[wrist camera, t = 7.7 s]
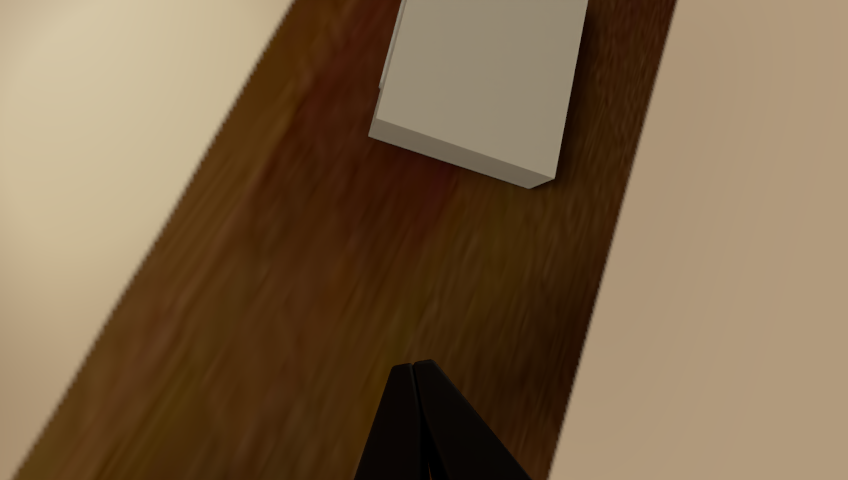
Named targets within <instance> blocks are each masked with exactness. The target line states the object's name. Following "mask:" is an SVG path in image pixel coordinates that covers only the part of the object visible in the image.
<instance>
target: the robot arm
mask: <svg viewBox="0 0 848 480" xmlns="http://www.w3.org/2000/svg"><path fill="white" fill-rule="evenodd" d="M413 368H414V369H413ZM427 458H428V459H427ZM428 464H429V467H428ZM429 469H430V474H431V478H432V480H532V479H531V478H530V476H529V475H528V474H527V473H526V472H525V470H524V469H523V468H522V467H521V466H520V464H519V463H518V462H517V461H516V460H515V458H514V457H513V456H512V455H511V453H510V452H509V451H508V450H507V449H506V447H505V446H504V445H503V444H502V443H501V441H500V440H499V439H498V438H497V436H496V435H495V434H494V433H493V432H492V430H491V429H490V428H489V427H488V426H487V424H486V423H485V422H484V421H483V419H482V418H481V417H480V416H479V415H478V413H477V412H476V411H475V410H474V409H473V407H472V406H471V405H470V404H469V402H468V401H467V400H466V399H465V398H464V396H463V395H462V394H461V393H460V392H459V390H458V389H457V388H456V387H455V385H454V384H453V383H452V382H451V381H450V379H449V378H448V377H447V376H446V375H445V373H444V372H443V371H442V370H441V368H440V367H439V366H438V365H437V364H436V362H435V361H433V360H431V359H429V360H424V361H418V362H415V363H414V365H412V364H411V363H407V364H401V365H396V366H393V367H392V369H391V371H390V374H389V377H388V380H387V383H386V386H385V389H384V392H383V395H382V398H381V401H380V404H379V407H378V410H377V413H376V416H375V419H374V422H373V425H372V428H371V431H370V433H369V436H368V439H367V442H366V445H365V448H364V451H363V454H362V457H361V460H360V463H359V466H358V469H357V472H356V475H355V478H354V480H430V474H429Z"/></svg>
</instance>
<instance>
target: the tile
mask: <svg viewBox="0 0 848 480" xmlns="http://www.w3.org/2000/svg"><path fill="white" fill-rule="evenodd" d="M587 3H588V0H404V3H403V7H402V11H401V14H400V18H399V22H398V26H397V30H396V33H395V37H394V41H393V45H392V48H391V52H390V56H389V60H388V64H387V67H386V71H385V75H384V79H383V82H382V86H381V90H380V94H379V98H378V101H377V105H376V109H375V113H374V116H373V120H372V124H371V128H370V132H369V135H368V136H369V137H372V138H375V139H378V140H381V141H384V142H387V143H390V144H393V145H396V146H399V147H402V148H406V149H409V150H412V151H415V152H418V153H421V154H424V155H427V156H430V157H433V158H436V159H439V160H442V161H445V162H448V163H451V164H455V165H458V166H461V167H464V168H467V169H470V170H473V171H476V172H479V173H482V174H485V175H488V176H491V177H494V178H497V179H500V180H504V181H507V182H510V183H513V184H516V185H519V186H522V187H525V188H528V189H530V188H532V187H535V186H537V185H540V184H542V183H545V182H547V181H550V180H552V179H555V174H556V168H557V163H558V158H559V152H560V147H561V142H562V136H563V131H564V126H565V120H566V115H567V110H568V104H569V99H570V94H571V88H572V83H573V78H574V72H575V67H576V62H577V56H578V51H579V46H580V40H581V35H582V30H583V24H584V19H585V13H586V8H587Z"/></svg>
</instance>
